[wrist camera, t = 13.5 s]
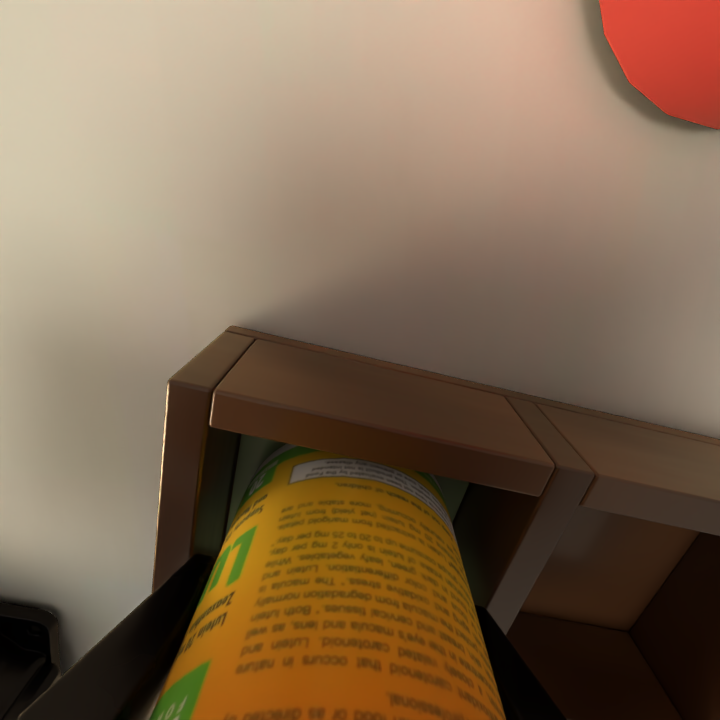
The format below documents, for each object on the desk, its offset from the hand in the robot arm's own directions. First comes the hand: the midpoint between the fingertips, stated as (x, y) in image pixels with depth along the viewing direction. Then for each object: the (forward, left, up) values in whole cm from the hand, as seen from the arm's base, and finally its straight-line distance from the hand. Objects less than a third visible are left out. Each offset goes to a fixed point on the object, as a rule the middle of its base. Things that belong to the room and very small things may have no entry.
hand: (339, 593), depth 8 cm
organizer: (+4, 0, -4) cm, 5 cm away
